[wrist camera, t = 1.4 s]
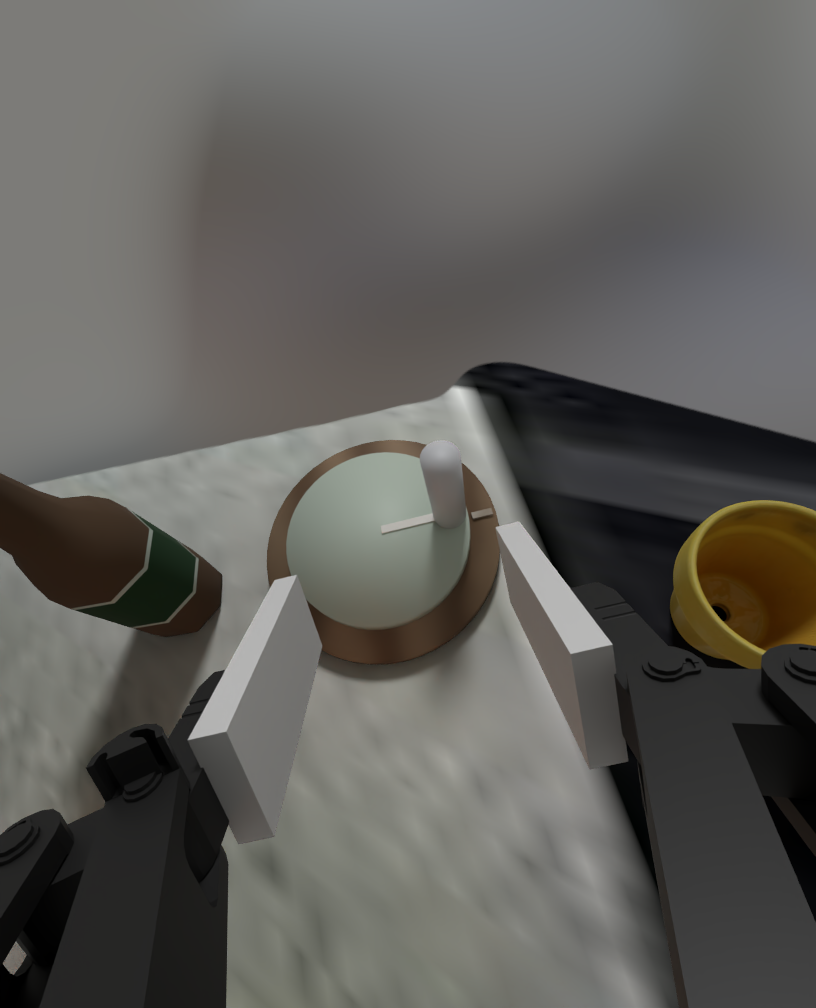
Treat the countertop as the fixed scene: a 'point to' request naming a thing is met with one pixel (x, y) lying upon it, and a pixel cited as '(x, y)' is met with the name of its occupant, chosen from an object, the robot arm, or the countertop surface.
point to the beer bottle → (106, 561)
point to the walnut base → (433, 625)
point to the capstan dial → (382, 537)
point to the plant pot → (748, 581)
